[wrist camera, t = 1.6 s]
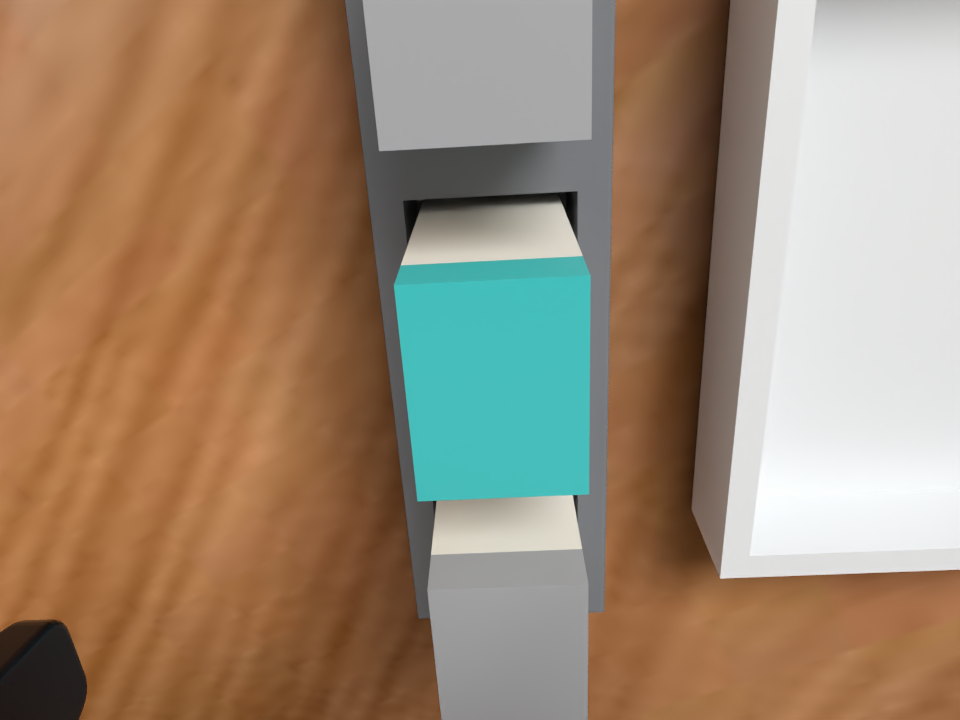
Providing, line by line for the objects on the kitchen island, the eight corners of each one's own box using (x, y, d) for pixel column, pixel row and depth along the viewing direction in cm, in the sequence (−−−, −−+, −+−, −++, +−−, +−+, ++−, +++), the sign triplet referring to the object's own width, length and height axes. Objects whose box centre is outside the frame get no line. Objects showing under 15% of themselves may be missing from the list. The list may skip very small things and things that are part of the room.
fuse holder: (589, 540, 23) (603, 612, 20) (426, 546, 23) (418, 618, 20) (596, -172, 15) (619, -213, 12) (351, -155, 15) (322, -193, 13)
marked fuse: (555, 337, 19) (589, 494, 13) (440, 342, 19) (417, 501, 13) (552, 181, 18) (590, 274, 11) (427, 188, 18) (393, 285, 11)
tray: (1034, 495, 22) (1112, 563, 19) (691, 509, 22) (719, 578, 19) (1235, -158, 15) (1399, -196, 12) (739, -125, 15) (794, -154, 13)
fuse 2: (558, 525, 22) (587, 734, 15) (456, 529, 22) (443, 738, 16) (556, 405, 20) (588, 583, 14) (446, 410, 20) (427, 589, 14)
